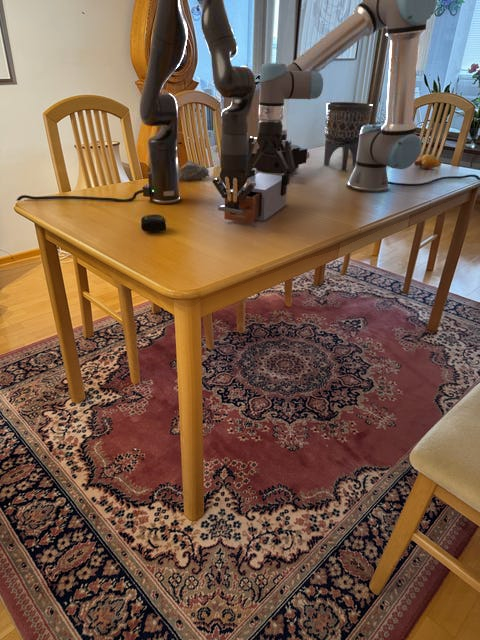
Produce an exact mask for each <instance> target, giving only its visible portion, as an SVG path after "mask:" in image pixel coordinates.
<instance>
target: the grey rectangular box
mask: <svg viewBox="0 0 480 640" xmlns="http://www.w3.org/2000/svg"><path fill="white" fill-rule="evenodd" d="M249 179H250V180H251V181H252V183H253V182H254V183H256V186H255V187H254V189H253V190H252V192H259V193H262V198H261V215H259V216H258V217H256V218H255V220H254V221H261V222H264V221H266V220H267V219H268V218H270V217H271V216H273V215H274V214H276V213H277V212H278V211H280V210H281V209H283V208H284V207H285V206H286V205H287V196H288V195H287V194H288V185H286V194H285V195H283V196H281V183H282V176H278V175H270V174H262V173H255V175H254V176H252V177H249ZM245 189H246V183H245V185H244V186H243V187H242V190H245Z"/></svg>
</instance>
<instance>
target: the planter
mask: <svg viewBox="0 0 480 640" xmlns="http://www.w3.org/2000/svg"><path fill="white" fill-rule="evenodd" d="M373 107H374V106H373V104H372V103H367V102H353V101H333V102H327V103H326V109H325V124H324V125H325V126H324V139H325V144H324V156H323V157H324V158H323V165H325V166H328V165H330V163H331V158H332V156H333V154H334V153H335V151H336V150H337V149H340V148H341V152H342V153H341V166H340V170H341V172H345V171H347V167H348V166H347V165H348V159H349V154H348V152H349V150H350V151H351V153H352V154H351V157H352V158H351V159H352V160H351V161H352V166H353V167H355V165H356V158H357V151H358V144H359V135H360V131H361V128H362V126H364V125H370V121H371V116H372V112H373Z"/></svg>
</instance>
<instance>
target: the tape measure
mask: <svg viewBox="0 0 480 640" xmlns="http://www.w3.org/2000/svg"><path fill="white" fill-rule="evenodd" d="M166 223H167V222H166V218H165V217H164V215H161V214H154V213H153V214H146V215H144V216H143V217H141V220H140V228H141V230H142V231H144V232H150V233H156V232H164V231H167V224H166Z"/></svg>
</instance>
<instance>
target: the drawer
mask: <svg viewBox="0 0 480 640" xmlns="http://www.w3.org/2000/svg"><path fill="white" fill-rule="evenodd" d="M243 192H244V190H242V191H241V194H242V193H243ZM261 198H262V193H259V192H252V191H251V192H250V193H249V195H248V196H247V197H246V198H245V199H243V200H242V201H239V209H236V208H230V207H228V200H227V199H225V198H224V204H223V205H218V207H217V210H218V211H219V212H224V220H228V221H234V222H241V223H247V224H255V221H256V220H255V218H256V217H258V216H259V215H261ZM230 212H231V213H237V214H235V215H233V214H230Z"/></svg>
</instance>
